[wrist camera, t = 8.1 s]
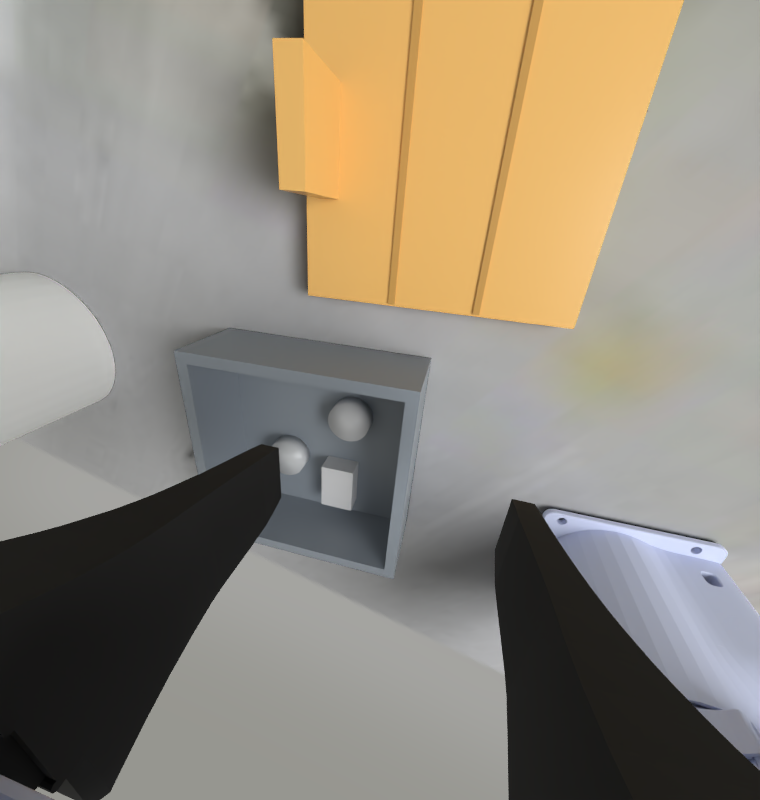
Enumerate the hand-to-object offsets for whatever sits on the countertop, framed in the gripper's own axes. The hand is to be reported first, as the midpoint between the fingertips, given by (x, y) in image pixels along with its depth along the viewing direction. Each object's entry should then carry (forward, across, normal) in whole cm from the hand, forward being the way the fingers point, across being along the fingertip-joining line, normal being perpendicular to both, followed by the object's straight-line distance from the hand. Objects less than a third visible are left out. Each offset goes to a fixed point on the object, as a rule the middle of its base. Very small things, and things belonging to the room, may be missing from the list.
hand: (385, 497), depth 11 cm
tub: (+10, +6, +5) cm, 12 cm away
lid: (+9, 0, -10) cm, 14 cm away
